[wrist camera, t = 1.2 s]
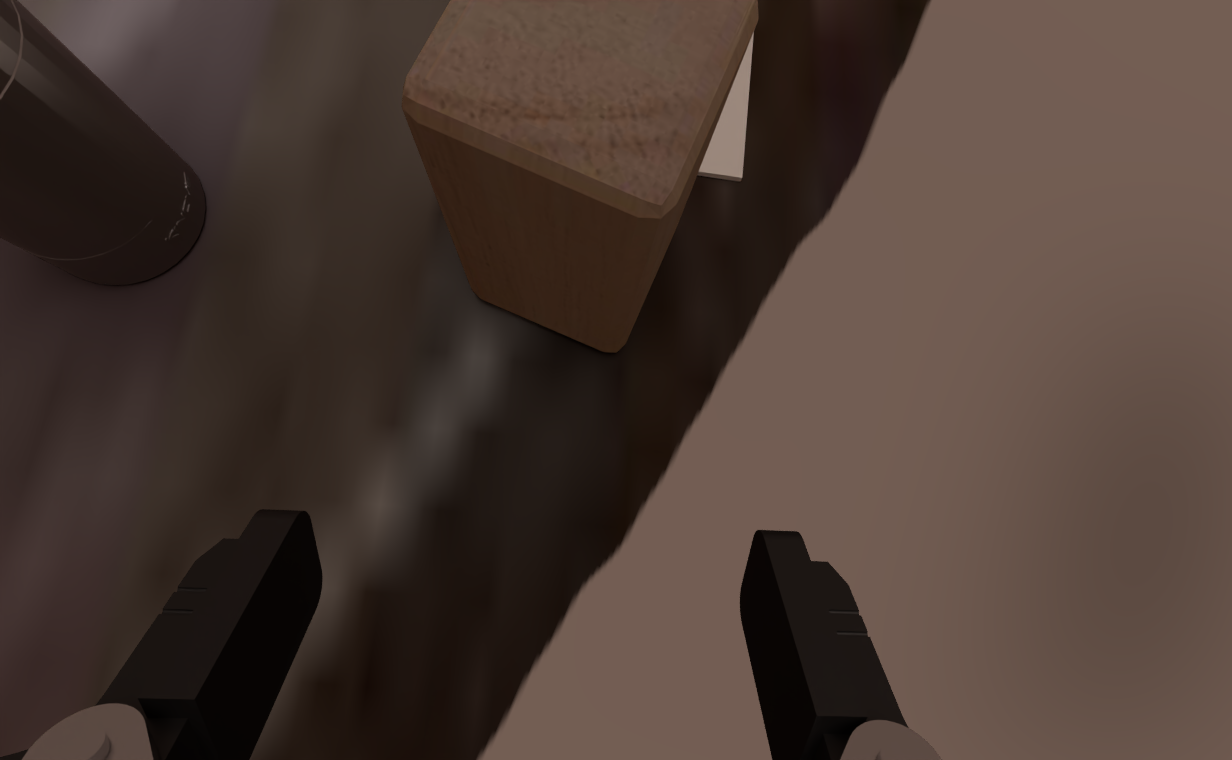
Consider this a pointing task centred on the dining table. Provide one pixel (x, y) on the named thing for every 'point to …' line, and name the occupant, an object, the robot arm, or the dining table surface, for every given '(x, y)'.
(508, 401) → the dining table surface
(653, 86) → the wooden block
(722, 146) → the pale grey mat
